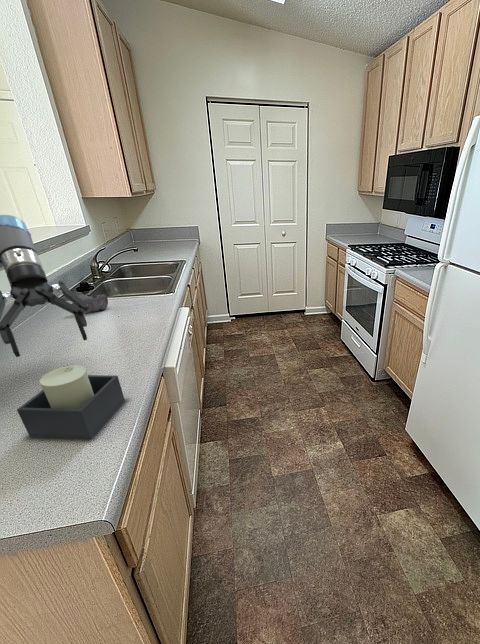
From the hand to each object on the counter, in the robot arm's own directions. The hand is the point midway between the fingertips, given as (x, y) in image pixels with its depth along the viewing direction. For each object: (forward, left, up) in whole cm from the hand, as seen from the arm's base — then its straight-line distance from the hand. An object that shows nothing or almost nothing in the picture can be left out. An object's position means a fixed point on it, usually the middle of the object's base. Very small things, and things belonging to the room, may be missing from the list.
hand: (52, 345), depth 79 cm
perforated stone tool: (-38, +68, -17) cm, 80 cm away
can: (+5, -5, -16) cm, 18 cm away
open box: (+5, -5, -17) cm, 19 cm away
